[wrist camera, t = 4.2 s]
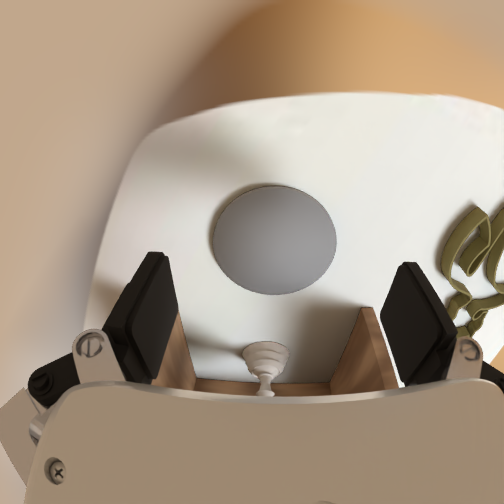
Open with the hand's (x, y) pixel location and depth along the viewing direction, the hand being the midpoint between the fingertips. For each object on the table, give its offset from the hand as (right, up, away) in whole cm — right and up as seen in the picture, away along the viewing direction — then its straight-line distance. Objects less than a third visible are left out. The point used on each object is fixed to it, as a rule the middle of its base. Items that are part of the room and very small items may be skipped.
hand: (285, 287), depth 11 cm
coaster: (0, +2, +10) cm, 10 cm away
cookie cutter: (+23, -1, +11) cm, 25 cm away
